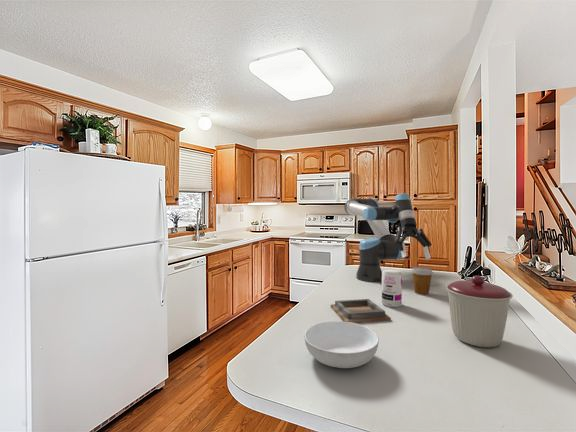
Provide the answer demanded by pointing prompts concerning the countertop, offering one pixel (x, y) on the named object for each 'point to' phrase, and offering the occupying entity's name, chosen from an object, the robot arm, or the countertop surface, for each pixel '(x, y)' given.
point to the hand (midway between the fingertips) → (416, 258)
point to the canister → (478, 311)
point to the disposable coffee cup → (421, 279)
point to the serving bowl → (341, 343)
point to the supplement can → (391, 288)
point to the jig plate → (359, 311)
